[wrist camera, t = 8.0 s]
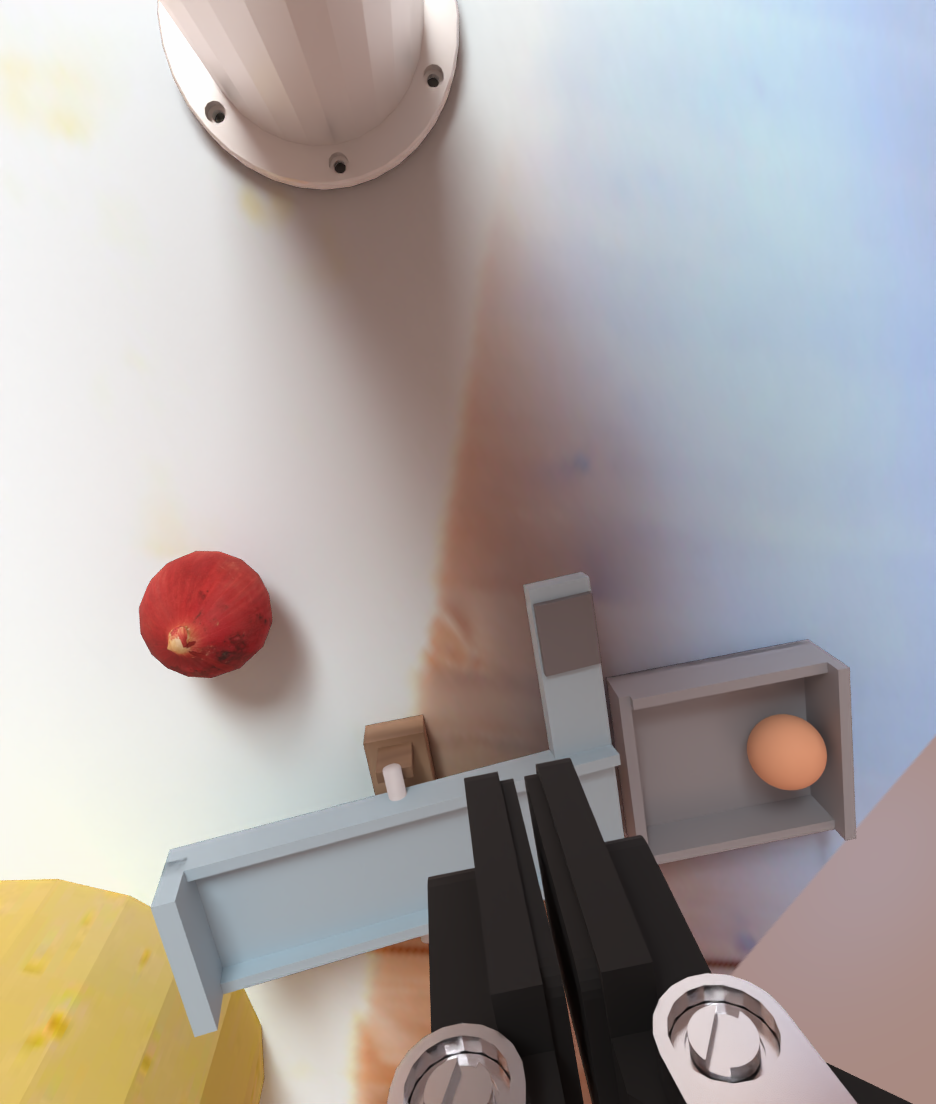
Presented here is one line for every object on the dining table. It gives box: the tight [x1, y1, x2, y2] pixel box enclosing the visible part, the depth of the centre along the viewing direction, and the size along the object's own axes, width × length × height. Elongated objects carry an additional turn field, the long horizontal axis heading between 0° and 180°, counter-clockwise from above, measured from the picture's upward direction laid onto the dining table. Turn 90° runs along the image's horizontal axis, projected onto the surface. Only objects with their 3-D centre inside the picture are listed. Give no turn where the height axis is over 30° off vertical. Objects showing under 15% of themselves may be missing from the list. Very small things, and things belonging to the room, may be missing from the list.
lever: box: [151, 572, 624, 1037], centre depth 34 cm, size 18×22×4 cm
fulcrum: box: [363, 715, 436, 796], centre depth 39 cm, size 10×3×4 cm, turn 10°
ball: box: [747, 714, 827, 790], centre depth 39 cm, size 4×4×4 cm
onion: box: [139, 551, 272, 678], centre depth 34 cm, size 6×6×8 cm
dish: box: [606, 639, 856, 865], centre depth 40 cm, size 10×12×4 cm
